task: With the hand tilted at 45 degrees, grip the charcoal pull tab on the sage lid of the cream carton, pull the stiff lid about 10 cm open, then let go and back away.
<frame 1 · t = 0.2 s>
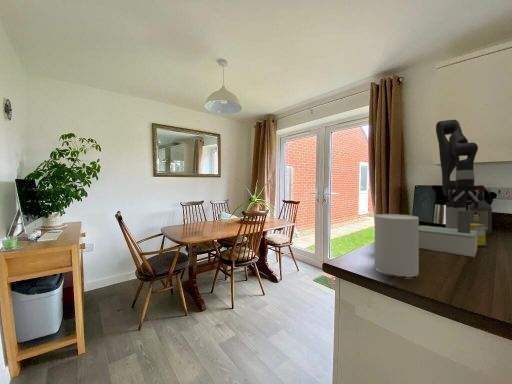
hand: (465, 208, 122), 18 cm above the countertop, tool pointing down, fingers open, 8 cm apart
liquor: (479, 233, 141), on the countertop
supplement box: (474, 245, 113), on the countertop
canister: (395, 271, 81), on the countertop
carton lid: (444, 220, 108), point 14 cm above the countertop, slide at 0.0 cm
carton: (444, 248, 108), on the countertop
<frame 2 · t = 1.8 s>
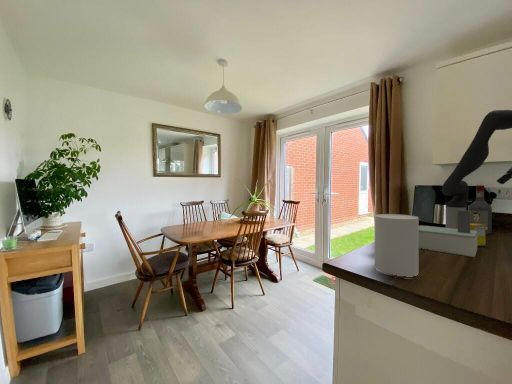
hand: (499, 182, 94), 31 cm above the countertop, tool tilted 45°, fingers open, 8 cm apart
nothing on the countertop moved.
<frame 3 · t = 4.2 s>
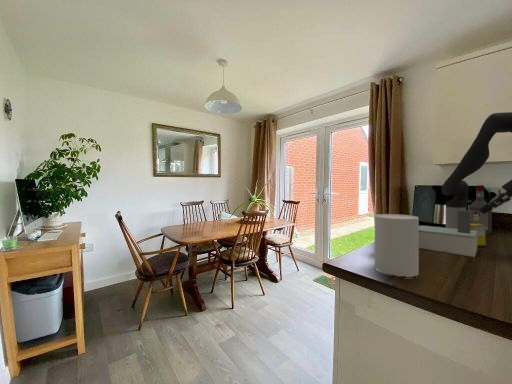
hand: (482, 211, 98), 19 cm above the countertop, tool tilted 45°, fingers open, 8 cm apart
nothing on the countertop moved.
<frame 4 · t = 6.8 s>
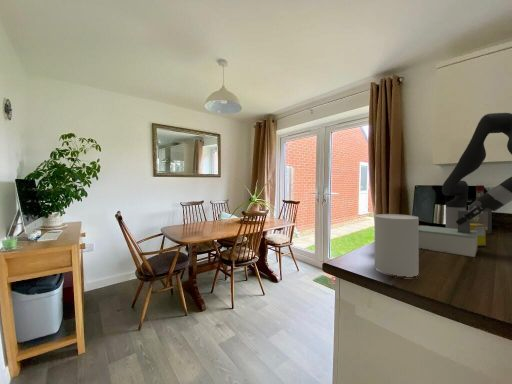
hand: (458, 222, 104), 13 cm above the countertop, tool tilted 45°, fingers closed on carton lid, 3 cm apart
carton lid: (444, 220, 108), point 14 cm above the countertop, slide at 0.0 cm, touching gripper
everything else where it was.
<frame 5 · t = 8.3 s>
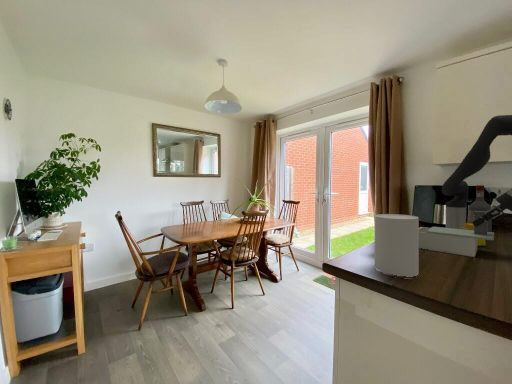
hand: (474, 224, 100), 13 cm above the countertop, tool tilted 45°, fingers closed on carton lid, 3 cm apart
carton lid: (459, 221, 104), point 14 cm above the countertop, slide at 5.4 cm, touching gripper
everything else where it was.
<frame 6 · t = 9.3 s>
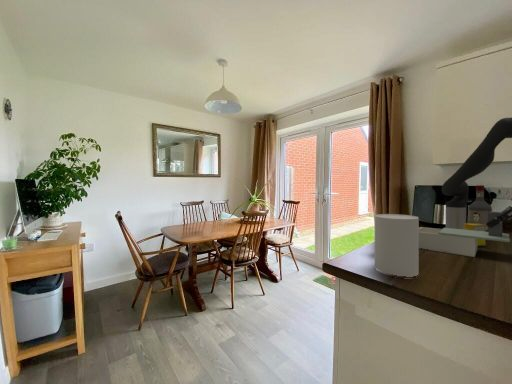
hand: (488, 225, 97), 13 cm above the countertop, tool tilted 45°, fingers closed on carton lid, 3 cm apart
carton lid: (472, 223, 101), point 14 cm above the countertop, slide at 9.8 cm, touching gripper
everything else where it was.
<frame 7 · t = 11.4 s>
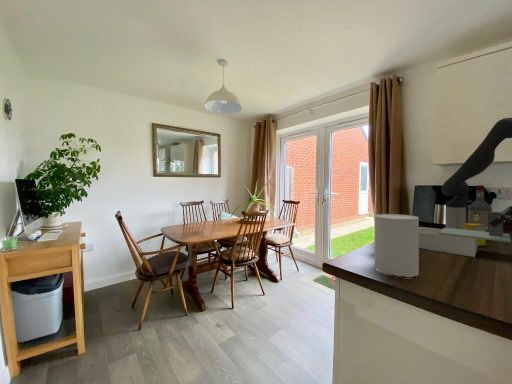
hand: (491, 224, 96), 14 cm above the countertop, tool tilted 45°, fingers open, 8 cm apart
carton lid: (473, 223, 101), point 14 cm above the countertop, slide at 10.0 cm
everything else where it was.
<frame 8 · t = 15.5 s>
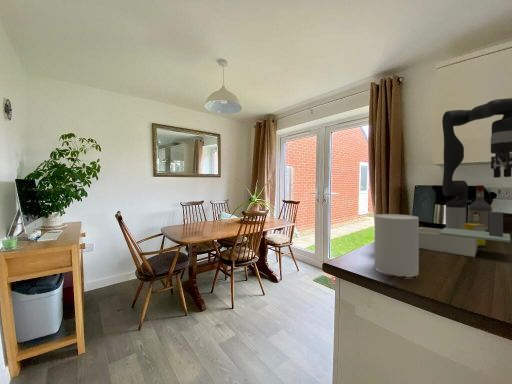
hand: (502, 177, 104), 34 cm above the countertop, tool pointing down, fingers open, 8 cm apart
nothing on the countertop moved.
at the end: carton lid slide at 10.0 cm; the gripper is holding nothing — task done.
